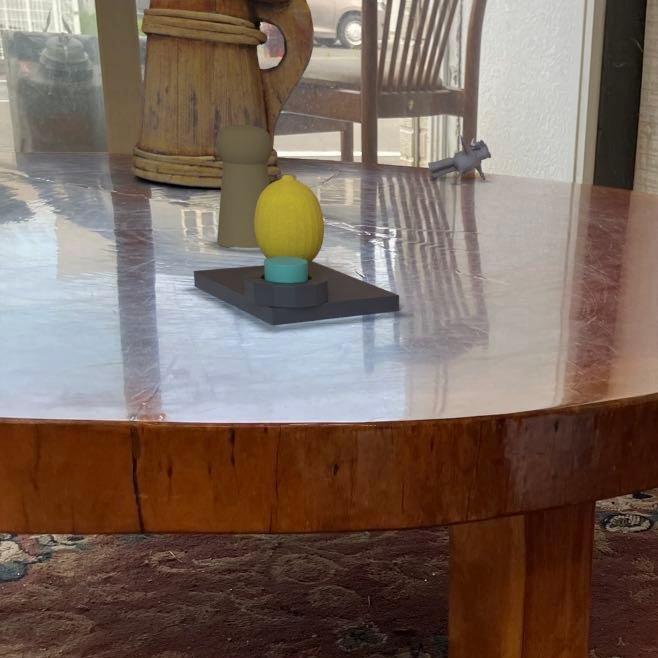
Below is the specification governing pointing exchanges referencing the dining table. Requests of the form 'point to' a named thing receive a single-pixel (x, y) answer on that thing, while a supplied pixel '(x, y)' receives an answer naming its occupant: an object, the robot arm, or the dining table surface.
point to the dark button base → (296, 294)
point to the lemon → (289, 220)
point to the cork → (241, 182)
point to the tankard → (213, 82)
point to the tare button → (286, 269)
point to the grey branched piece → (462, 160)
